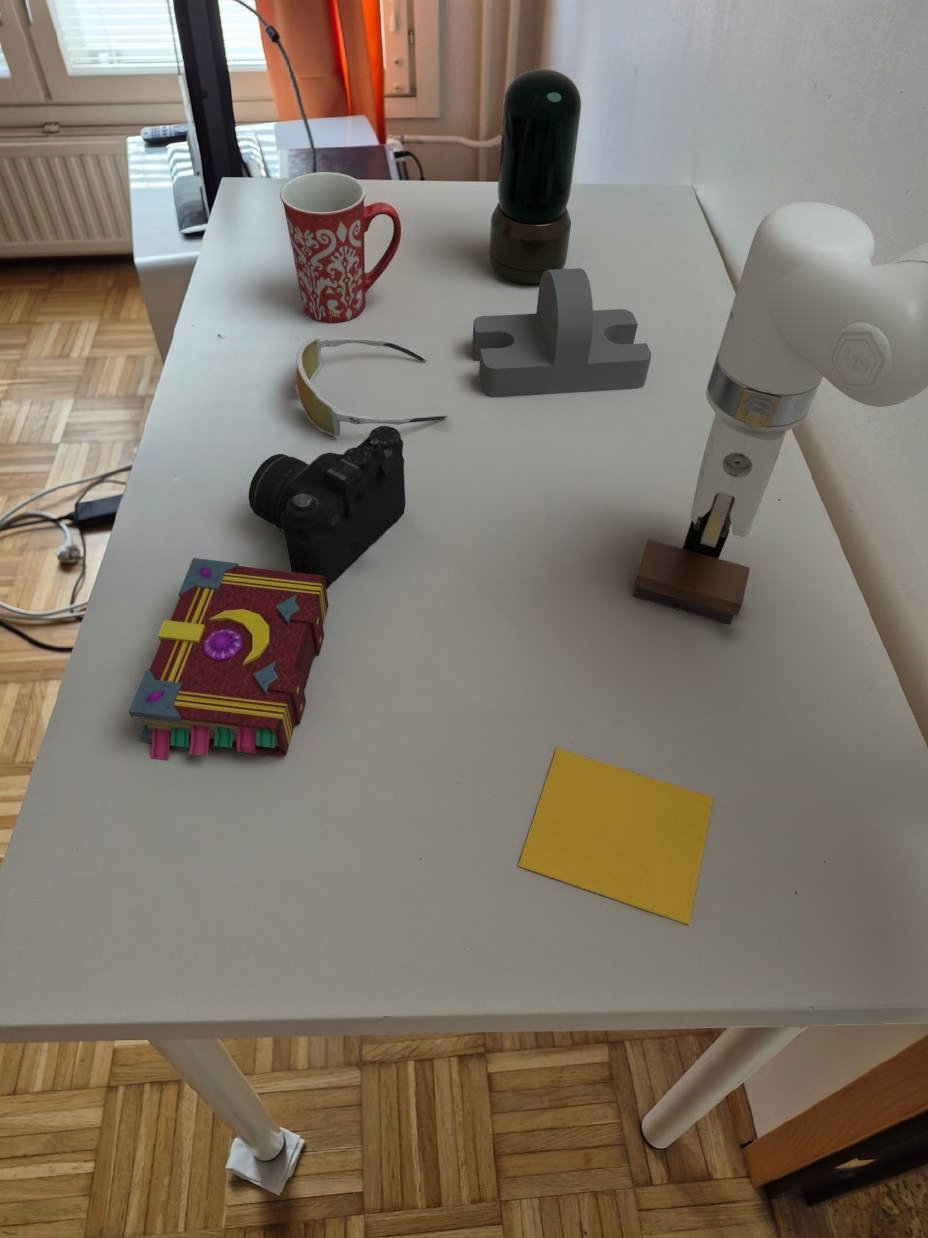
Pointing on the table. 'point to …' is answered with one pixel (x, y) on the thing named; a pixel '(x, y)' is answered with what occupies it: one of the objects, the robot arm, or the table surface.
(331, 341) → the sunglasses
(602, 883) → the cloth
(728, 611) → the brush
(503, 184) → the lamp
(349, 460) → the camera
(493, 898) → the table surface
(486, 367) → the bracket
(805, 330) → the robot arm
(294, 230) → the mug
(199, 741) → the decorative book
